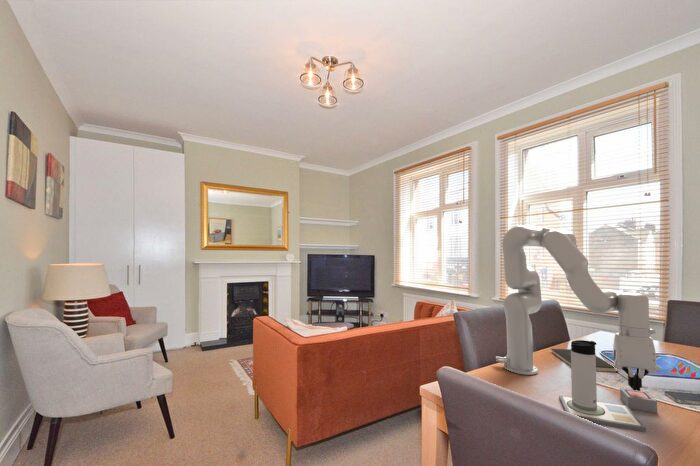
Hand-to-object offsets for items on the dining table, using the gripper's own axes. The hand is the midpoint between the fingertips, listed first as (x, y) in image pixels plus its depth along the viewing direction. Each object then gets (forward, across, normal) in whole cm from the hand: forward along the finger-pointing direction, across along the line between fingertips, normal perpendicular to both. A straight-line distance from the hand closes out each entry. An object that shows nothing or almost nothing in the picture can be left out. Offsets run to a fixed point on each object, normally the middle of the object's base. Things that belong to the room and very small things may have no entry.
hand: (635, 388), depth 104 cm
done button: (+4, -1, 0) cm, 4 cm away
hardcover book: (+6, +6, -42) cm, 42 cm away
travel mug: (+4, +16, +11) cm, 20 cm away
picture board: (+5, +12, +11) cm, 18 cm away
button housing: (+5, -1, 0) cm, 5 cm away
